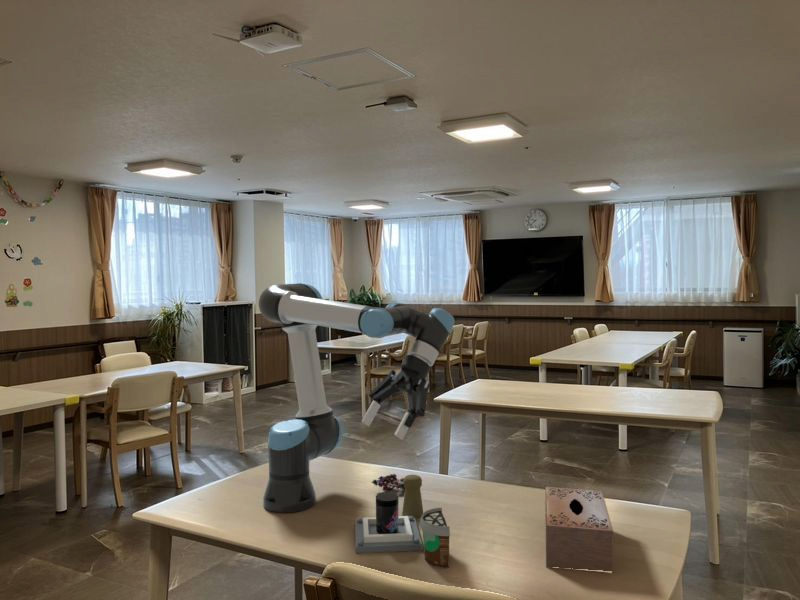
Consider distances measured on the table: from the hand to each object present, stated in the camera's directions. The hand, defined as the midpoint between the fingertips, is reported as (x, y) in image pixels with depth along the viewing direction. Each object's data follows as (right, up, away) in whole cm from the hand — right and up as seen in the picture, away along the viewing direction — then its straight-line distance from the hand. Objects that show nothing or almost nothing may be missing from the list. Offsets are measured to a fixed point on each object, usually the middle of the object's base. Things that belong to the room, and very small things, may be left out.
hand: (381, 430), depth 159 cm
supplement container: (+2, -25, -3) cm, 25 cm away
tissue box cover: (+48, -27, -9) cm, 56 cm away
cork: (+8, -26, +11) cm, 30 cm away
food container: (+13, -27, -15) cm, 34 cm away
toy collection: (+4, -25, +31) cm, 40 cm away
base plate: (+2, -26, -3) cm, 27 cm away
